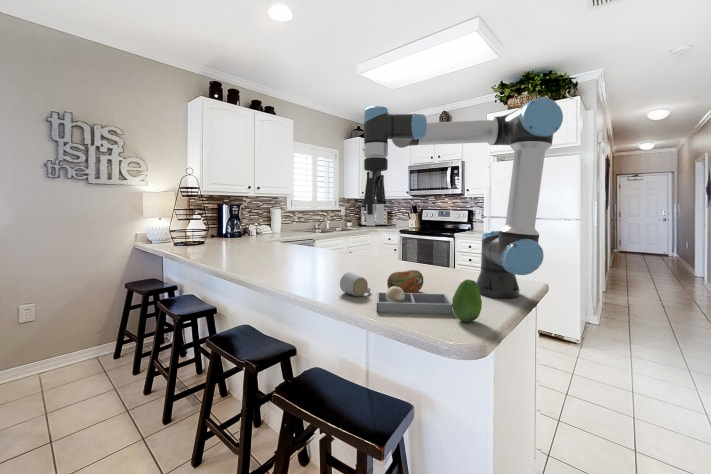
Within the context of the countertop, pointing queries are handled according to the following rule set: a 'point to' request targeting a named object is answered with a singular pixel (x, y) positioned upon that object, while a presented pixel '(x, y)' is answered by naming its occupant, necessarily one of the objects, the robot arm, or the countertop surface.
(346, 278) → the ceramic mug
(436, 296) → the grey divided tray
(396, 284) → the tin
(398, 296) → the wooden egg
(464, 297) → the avocado
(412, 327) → the countertop surface
